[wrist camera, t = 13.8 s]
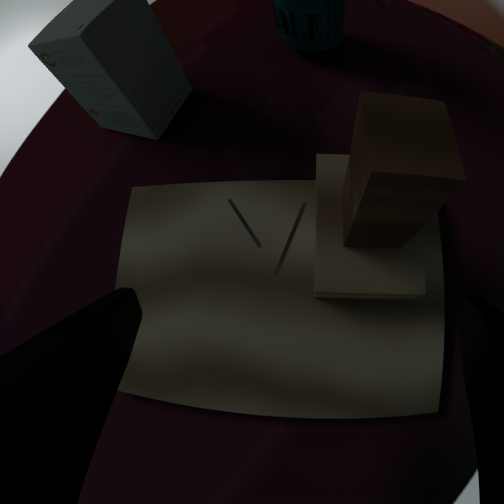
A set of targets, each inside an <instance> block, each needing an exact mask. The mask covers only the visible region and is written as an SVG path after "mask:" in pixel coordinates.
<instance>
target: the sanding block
mask: <svg viewBox="0 0 504 504" xmlns="http://www.w3.org/2000/svg"><path fill="white" fill-rule="evenodd" d="M465 180H466V178H465V173H464V169H463V165H462V160H461V156H460V152H459V148H458V145H457V141H456V137H455V134H454V130H453V127H452V124H451V121H450V117H449V114H448V111H447V108H446V105H445V102H443V101H437V100H431V99H424V98H417V97H410V96H402V95H393V94H384V93H373V92H360V97H359V103H358V109H357V115H356V121H355V127H354V133H353V138H352V144H351V149H350V154H349V155H339V154H317V158H316V253H315V284H314V298H330V299H376V300H410V299H413V298H416V297H418V296H421V295H424V294H426V279H425V256H424V241H423V229H422V227H423V226H424V225H425V224H426V223H427V222H428V221H429V220H430V219H431V218H432V217H433V216H434V214H435V213H436V212H437V211H438V210H439V209H440V208H441V207H442V206H443V205H444V204H445V203H446V202H447V201H448V199H449V198H450V197H451V196H452V195H453V194H454V193H455V192H456V191H457V189H458V188H459V187H460V186H461V185H462V184H463V183H464V182H465Z"/></svg>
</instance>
